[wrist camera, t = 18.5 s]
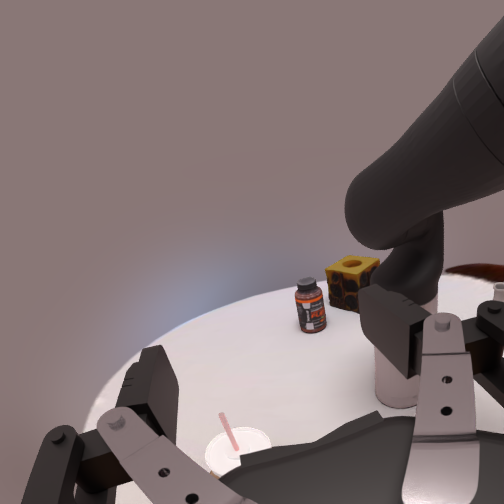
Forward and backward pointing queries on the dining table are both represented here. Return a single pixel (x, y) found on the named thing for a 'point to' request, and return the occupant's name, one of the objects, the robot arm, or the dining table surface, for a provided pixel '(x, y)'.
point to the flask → (499, 291)
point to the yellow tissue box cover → (349, 280)
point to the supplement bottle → (310, 305)
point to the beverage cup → (233, 447)
